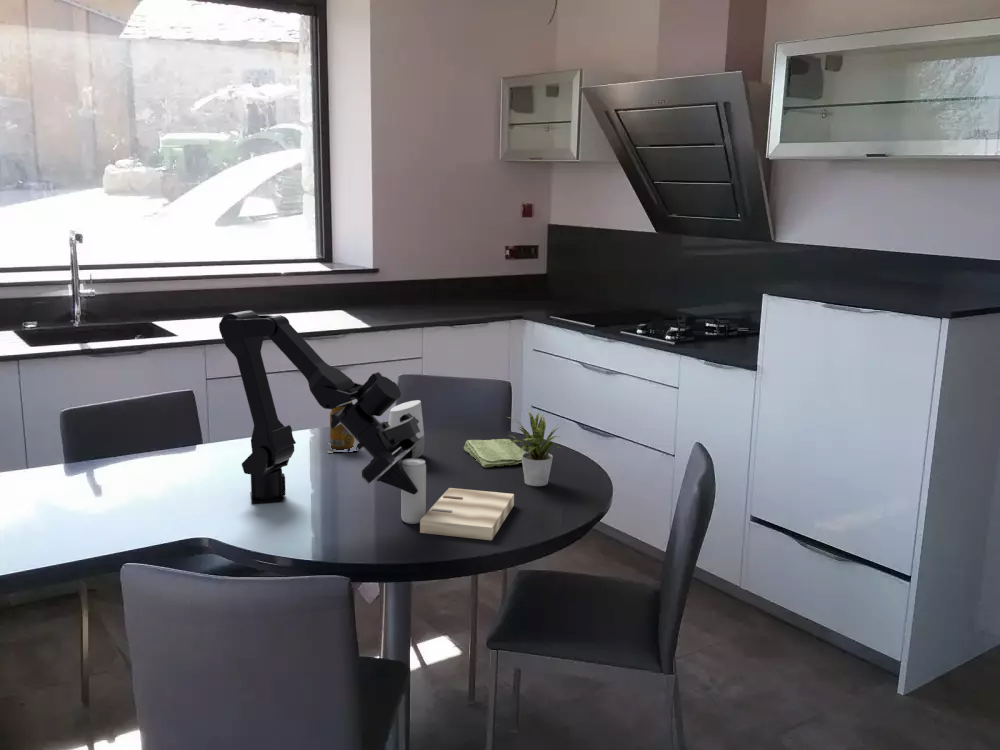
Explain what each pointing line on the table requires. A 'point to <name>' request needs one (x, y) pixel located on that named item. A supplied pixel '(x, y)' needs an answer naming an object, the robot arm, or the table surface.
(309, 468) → the table surface
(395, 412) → the smart speaker
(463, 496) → the chopping board
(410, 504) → the beverage can
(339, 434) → the condiment
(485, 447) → the washcloth
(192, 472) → the table surface
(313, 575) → the table surface
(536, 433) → the house plant
